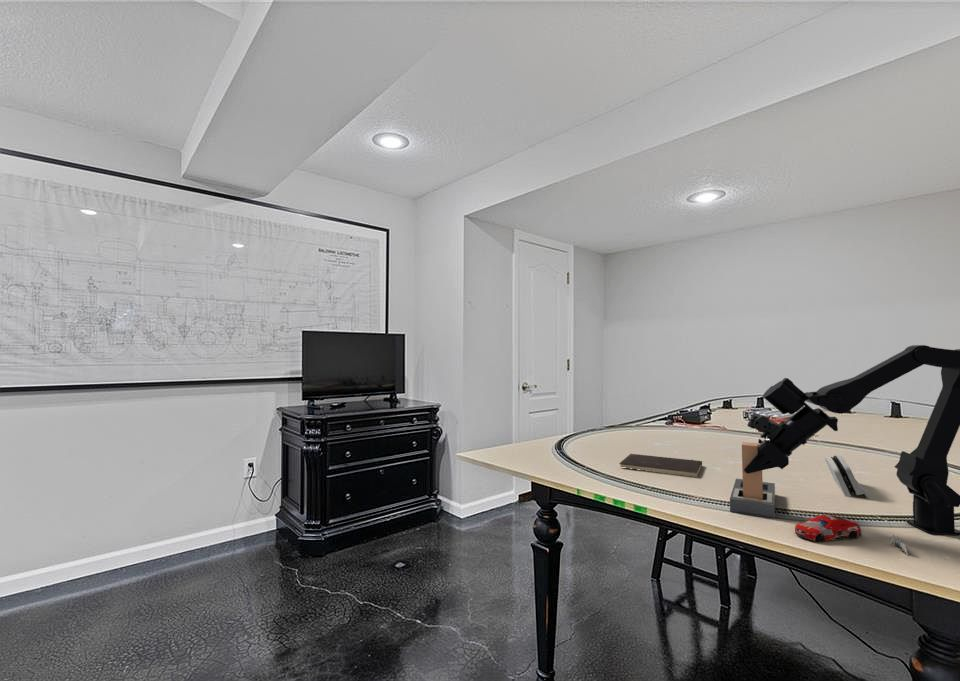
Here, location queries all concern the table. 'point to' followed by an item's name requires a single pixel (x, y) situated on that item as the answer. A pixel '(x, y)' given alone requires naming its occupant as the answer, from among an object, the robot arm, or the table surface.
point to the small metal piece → (900, 544)
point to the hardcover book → (662, 464)
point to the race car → (828, 528)
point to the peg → (751, 480)
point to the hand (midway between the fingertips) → (746, 469)
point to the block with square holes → (753, 501)
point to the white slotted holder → (844, 476)
